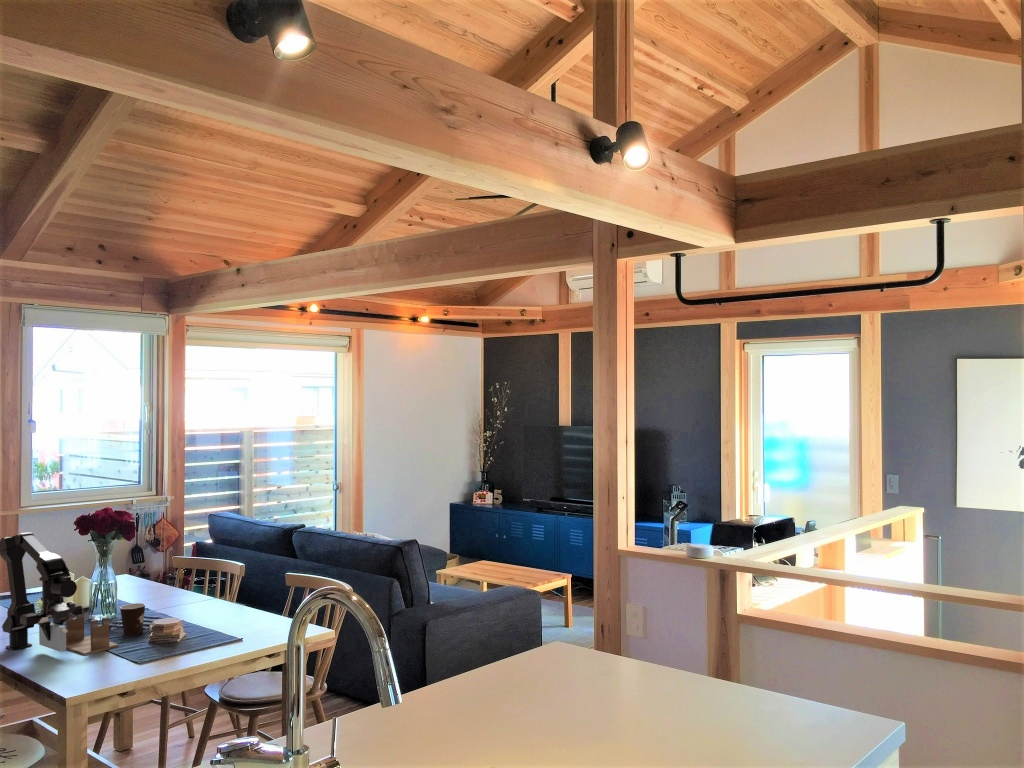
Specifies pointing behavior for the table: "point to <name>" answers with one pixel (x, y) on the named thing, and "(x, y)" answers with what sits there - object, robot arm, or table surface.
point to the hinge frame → (89, 643)
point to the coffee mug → (132, 618)
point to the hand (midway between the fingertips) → (52, 639)
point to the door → (54, 637)
